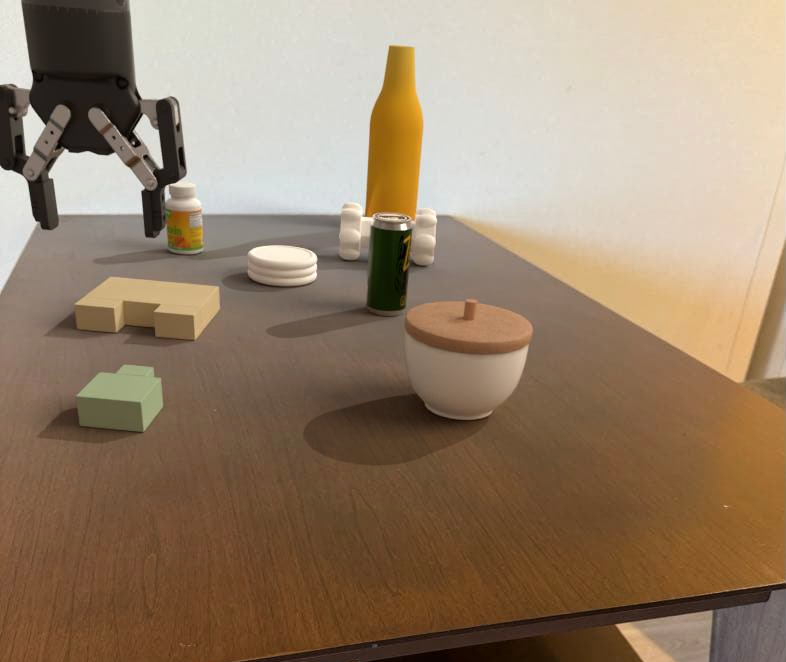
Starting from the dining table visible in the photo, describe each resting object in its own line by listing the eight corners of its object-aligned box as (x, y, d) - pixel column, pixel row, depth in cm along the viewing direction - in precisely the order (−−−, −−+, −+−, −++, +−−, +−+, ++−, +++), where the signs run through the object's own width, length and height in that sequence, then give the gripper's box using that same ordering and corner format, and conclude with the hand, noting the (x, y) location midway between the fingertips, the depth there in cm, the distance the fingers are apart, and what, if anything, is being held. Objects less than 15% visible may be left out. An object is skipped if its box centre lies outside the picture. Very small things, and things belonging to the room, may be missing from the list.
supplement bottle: (160, 250, 132) (155, 183, 127) (186, 244, 136) (182, 179, 130) (185, 257, 129) (181, 189, 124) (210, 251, 133) (208, 185, 128)
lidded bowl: (515, 439, 82) (534, 328, 77) (388, 421, 84) (396, 311, 78) (522, 391, 93) (538, 291, 87) (408, 376, 94) (417, 276, 89)
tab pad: (143, 432, 78) (141, 402, 77) (79, 426, 78) (75, 395, 77) (170, 396, 85) (168, 368, 84) (111, 391, 85) (108, 362, 84)
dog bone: (431, 257, 140) (436, 205, 136) (433, 271, 133) (438, 216, 128) (340, 250, 139) (342, 198, 135) (337, 264, 132) (339, 209, 128)
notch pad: (77, 329, 100) (73, 304, 98) (112, 299, 110) (110, 276, 108) (195, 340, 99) (193, 315, 98) (220, 309, 109) (219, 286, 108)
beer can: (366, 315, 112) (371, 220, 105) (365, 303, 116) (370, 211, 110) (406, 317, 112) (414, 223, 106) (404, 305, 117) (411, 213, 110)
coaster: (258, 289, 118) (258, 263, 116) (239, 269, 126) (239, 245, 124) (326, 285, 122) (327, 260, 120) (303, 267, 129) (304, 243, 127)
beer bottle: (353, 227, 154) (361, 42, 138) (391, 223, 159) (403, 44, 144) (387, 239, 148) (400, 48, 133) (425, 233, 154) (441, 49, 138)
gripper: (186, 9, 65) (197, 229, 74) (0, -6, 65) (33, 215, 74) (159, 9, 59) (175, 250, 67) (-47, -8, 59) (-4, 235, 67)
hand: (101, 232), depth 70 cm, fingers open, 8 cm apart
